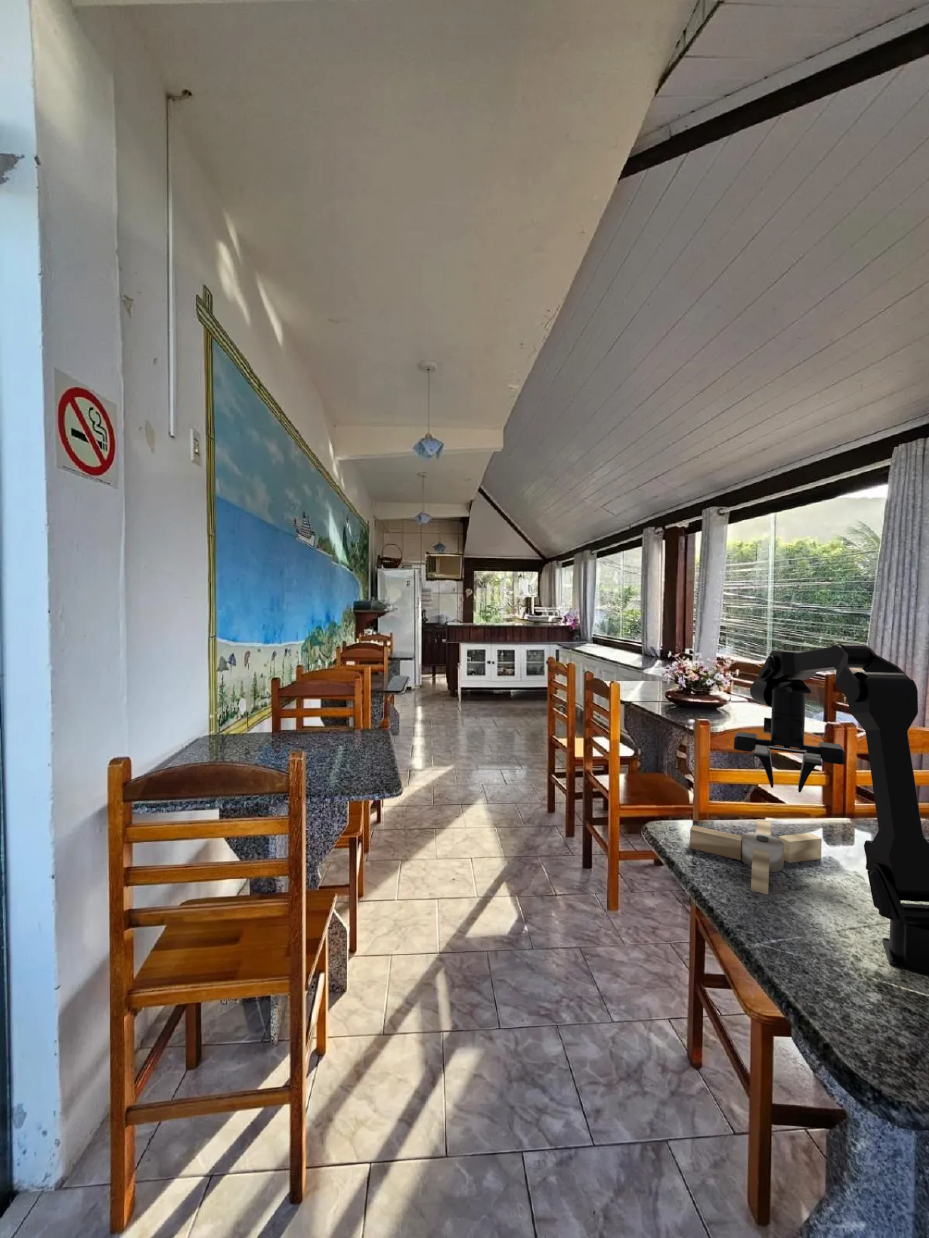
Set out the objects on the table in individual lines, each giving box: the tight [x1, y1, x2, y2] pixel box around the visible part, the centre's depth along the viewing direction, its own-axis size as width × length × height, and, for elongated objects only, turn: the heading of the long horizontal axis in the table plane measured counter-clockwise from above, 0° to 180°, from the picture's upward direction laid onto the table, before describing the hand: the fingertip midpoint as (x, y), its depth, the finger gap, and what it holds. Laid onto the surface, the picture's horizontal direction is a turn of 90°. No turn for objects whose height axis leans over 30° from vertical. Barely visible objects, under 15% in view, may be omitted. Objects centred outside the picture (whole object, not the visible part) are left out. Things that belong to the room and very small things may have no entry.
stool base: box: [689, 818, 785, 895], centre depth 101 cm, size 25×16×5 cm, turn 149°
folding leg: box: [778, 832, 823, 863], centre depth 101 cm, size 8×2×4 cm, turn 104°
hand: (785, 789), depth 105 cm, fingers open, 4 cm apart
